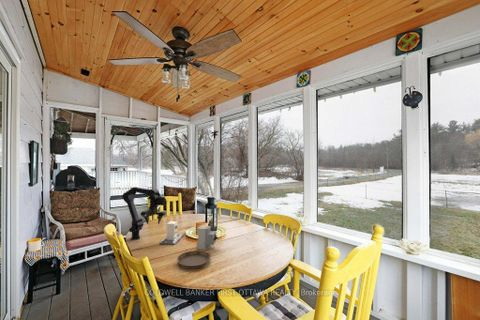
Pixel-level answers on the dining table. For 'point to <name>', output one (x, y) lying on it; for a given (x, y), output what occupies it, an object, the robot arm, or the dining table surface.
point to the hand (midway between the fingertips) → (153, 224)
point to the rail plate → (172, 242)
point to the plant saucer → (193, 259)
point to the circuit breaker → (205, 237)
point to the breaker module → (172, 230)
